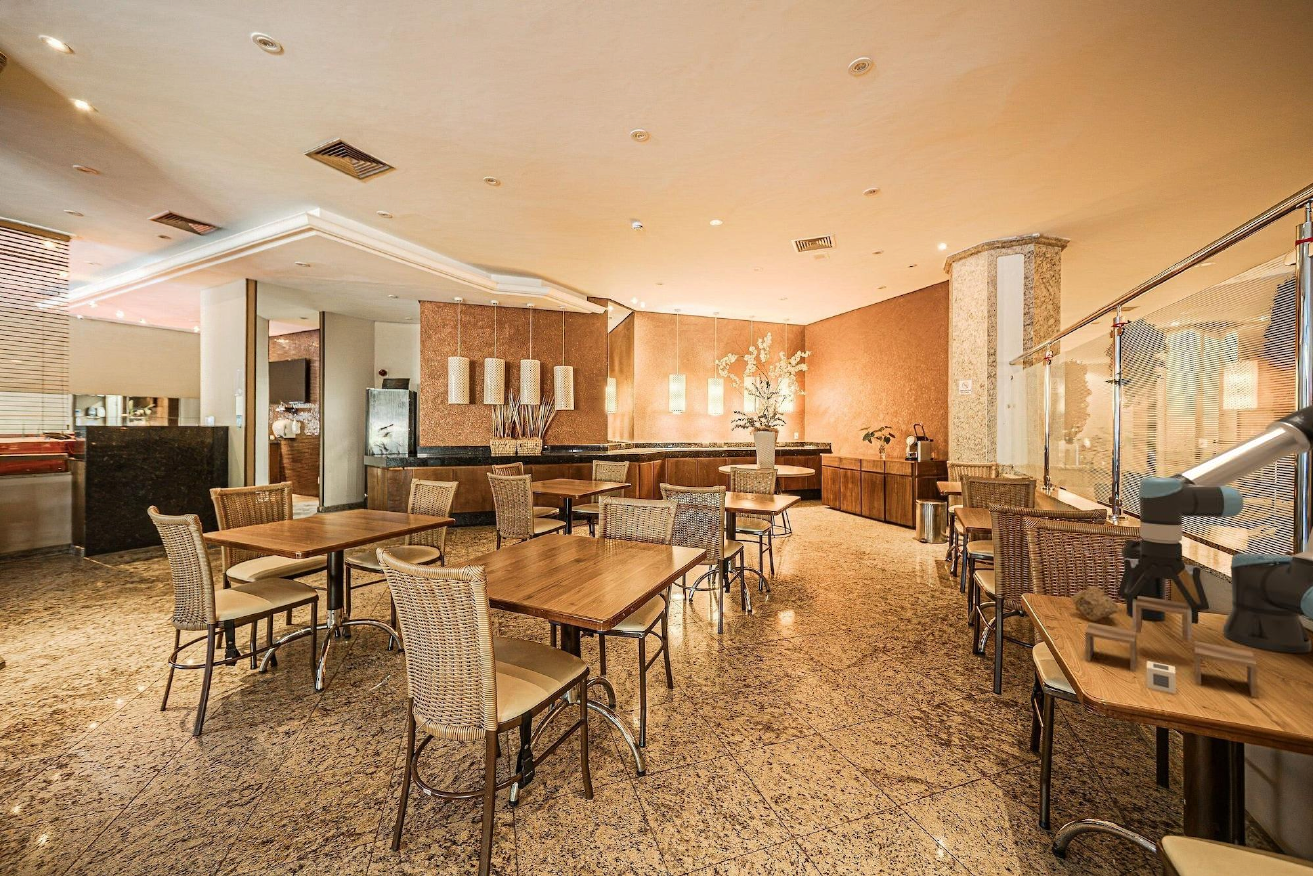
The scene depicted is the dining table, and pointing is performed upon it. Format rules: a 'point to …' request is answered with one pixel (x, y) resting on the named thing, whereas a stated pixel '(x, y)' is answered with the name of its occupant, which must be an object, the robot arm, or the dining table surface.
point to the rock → (1094, 603)
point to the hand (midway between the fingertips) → (1161, 631)
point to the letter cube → (1161, 677)
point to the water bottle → (1149, 589)
